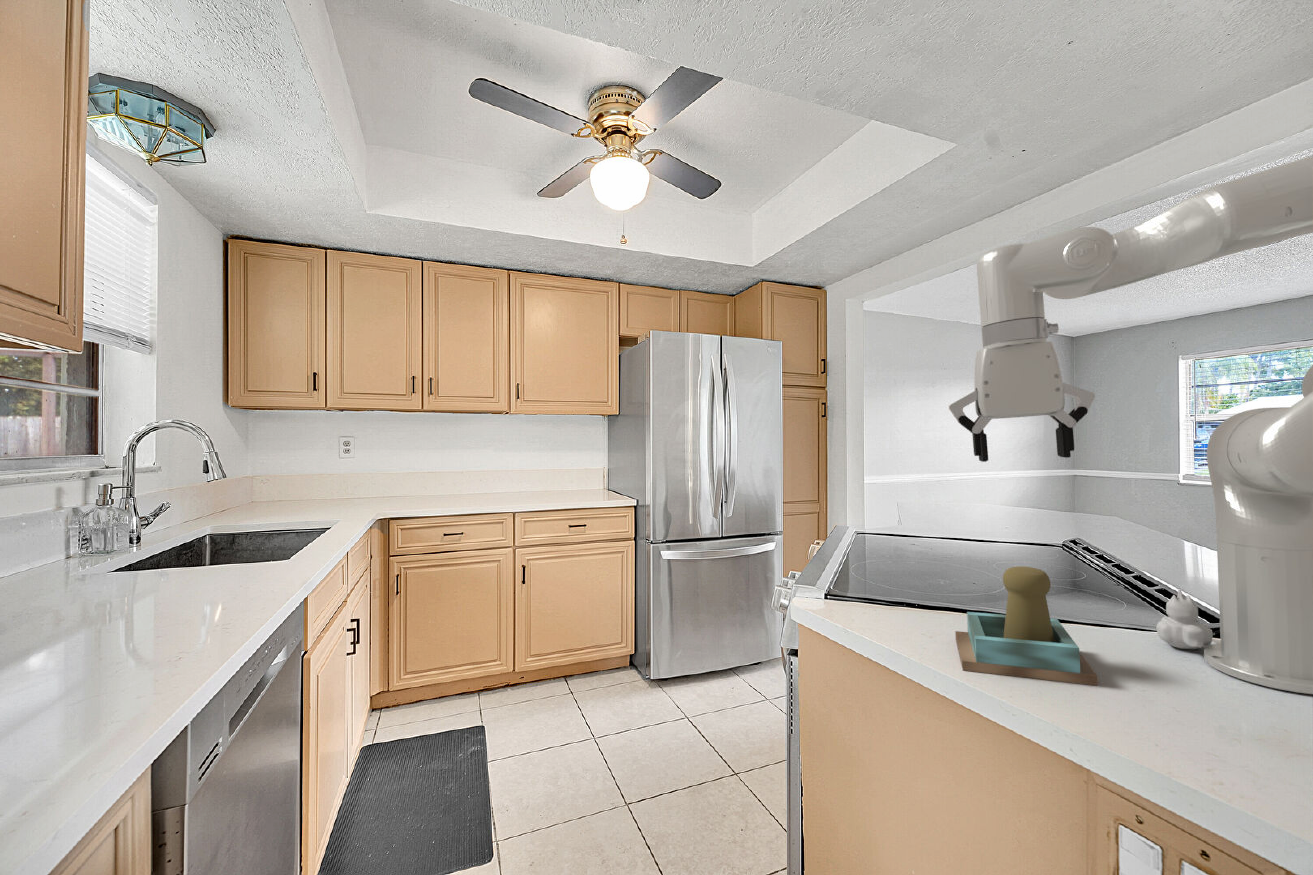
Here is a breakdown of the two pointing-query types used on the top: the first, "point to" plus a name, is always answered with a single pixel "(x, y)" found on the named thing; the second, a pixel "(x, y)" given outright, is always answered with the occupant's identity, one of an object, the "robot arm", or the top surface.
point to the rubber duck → (1183, 624)
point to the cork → (1027, 605)
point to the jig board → (1021, 652)
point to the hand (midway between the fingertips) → (1022, 458)
